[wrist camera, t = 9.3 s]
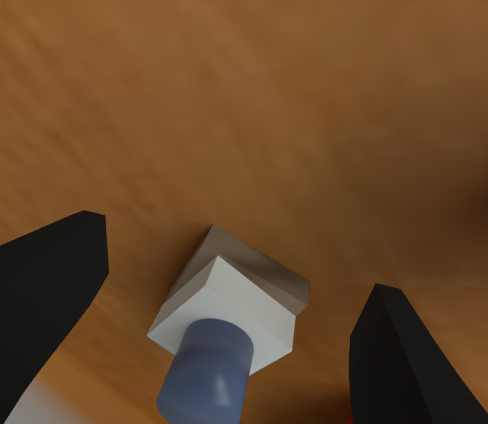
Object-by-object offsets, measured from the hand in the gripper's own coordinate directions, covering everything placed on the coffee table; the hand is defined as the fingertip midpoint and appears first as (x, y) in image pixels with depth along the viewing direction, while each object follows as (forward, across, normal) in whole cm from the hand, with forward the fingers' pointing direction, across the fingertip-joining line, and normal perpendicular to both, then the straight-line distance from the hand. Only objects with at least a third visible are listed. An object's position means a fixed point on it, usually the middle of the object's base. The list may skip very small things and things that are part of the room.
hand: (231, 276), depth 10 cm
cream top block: (+8, +1, +11) cm, 14 cm away
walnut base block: (+11, +1, +10) cm, 15 cm away
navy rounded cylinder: (+6, +1, +11) cm, 12 cm away
